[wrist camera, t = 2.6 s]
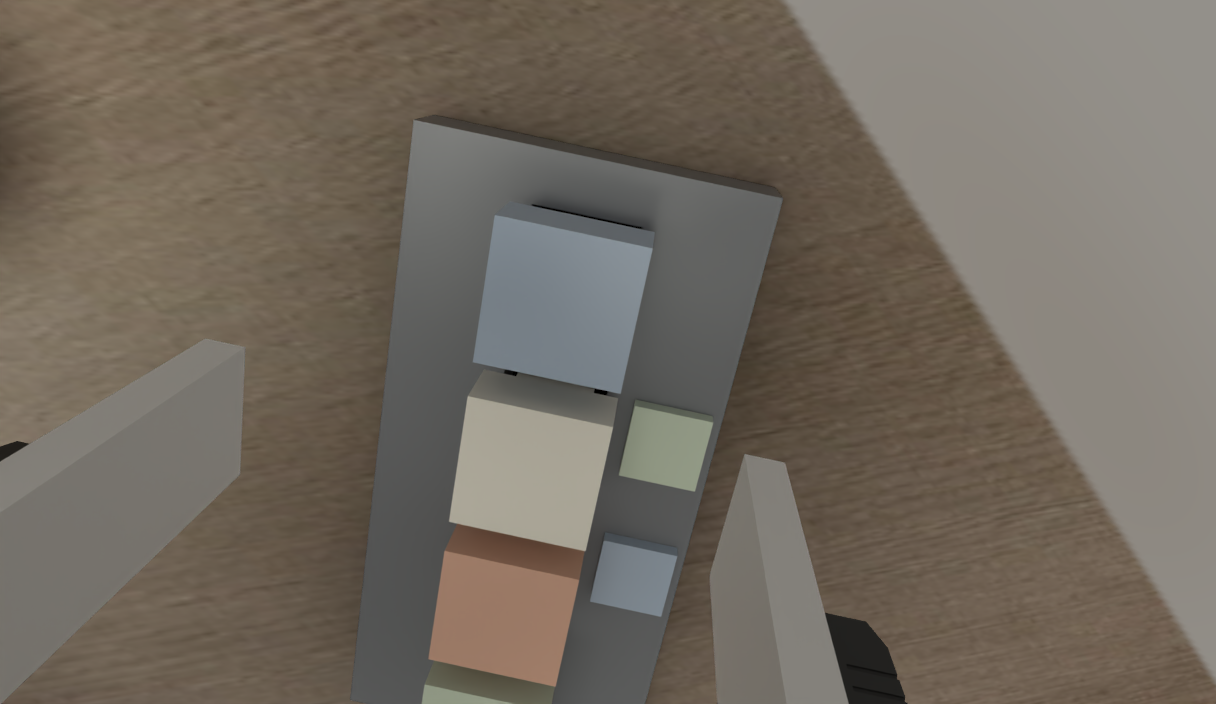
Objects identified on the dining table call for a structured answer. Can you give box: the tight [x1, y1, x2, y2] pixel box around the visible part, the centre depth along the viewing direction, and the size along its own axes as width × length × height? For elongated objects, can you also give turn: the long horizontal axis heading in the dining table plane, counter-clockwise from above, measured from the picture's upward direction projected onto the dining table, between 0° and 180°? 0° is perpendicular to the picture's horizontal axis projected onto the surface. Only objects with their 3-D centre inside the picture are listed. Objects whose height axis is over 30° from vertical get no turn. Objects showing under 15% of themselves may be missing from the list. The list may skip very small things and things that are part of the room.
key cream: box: [449, 370, 618, 551], centre depth 30 cm, size 5×5×5 cm
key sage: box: [422, 661, 555, 704], centre depth 34 cm, size 5×5×5 cm
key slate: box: [473, 201, 655, 394], centre depth 27 cm, size 5×5×5 cm
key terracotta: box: [428, 524, 585, 687], centre depth 32 cm, size 5×5×5 cm
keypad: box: [350, 115, 783, 704], centre depth 34 cm, size 26×13×3 cm, turn 169°
